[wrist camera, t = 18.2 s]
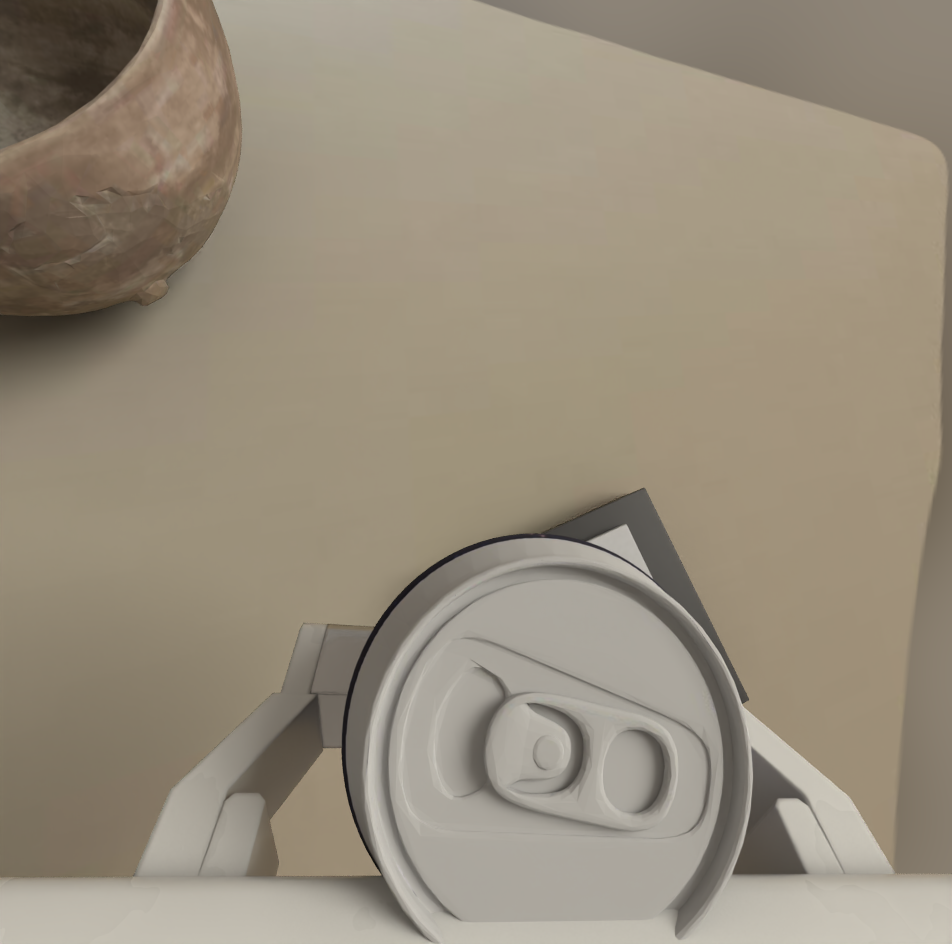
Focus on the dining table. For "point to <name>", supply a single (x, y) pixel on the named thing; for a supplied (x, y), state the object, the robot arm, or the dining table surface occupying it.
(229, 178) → the bowl
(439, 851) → the beverage can
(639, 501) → the scale
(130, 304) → the dining table surface
